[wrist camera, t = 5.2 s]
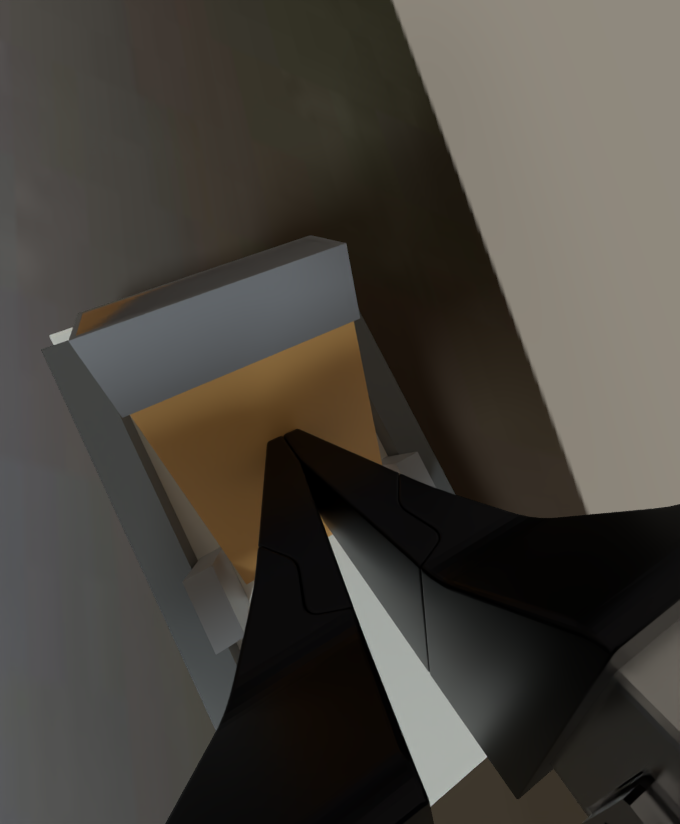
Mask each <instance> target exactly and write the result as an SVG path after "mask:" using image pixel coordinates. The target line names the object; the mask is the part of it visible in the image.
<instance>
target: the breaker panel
mask: <svg viewBox="0 0 680 824" xmlns="http://www.w3.org/2000/svg"><path fill="white" fill-rule="evenodd" d="M359 314H360V319H358V320H355V321H354V325H355V330H356V335H357V340H358V345H359V350H360V355H361V360H362V365H363V370H364V375H365V380H366V385H367V390H368V395H369V400H370V405H371V410H372V416H373V421H374V426H375V431H376V436H377V441H378V446H379V451H380V456H381V461H382V466H385V467H387V468H389V469H391V470H394V471H396V472H398V473H399V475H400V474H403V475H405V476H408V477H410V478H412V479H415V480H417V481H419V482H422V483H424V484H427V485H429V486H432V487H434V488H437V489H440V490H443V491H446V492H449V493H452V494H455V493H454V491H453V489H452V487H451V485H450V484H449V482H448V480H447V478H446V476H445V474H444V472H443V470H442V468H441V466H440V464H439V462H438V461H437V459H436V457H435V455H434V453H433V451H432V449H431V447H430V445H429V443H428V441H427V439H426V438H425V436H424V434H423V432H422V430H421V428H420V426H419V424H418V422H417V420H416V418H415V416H414V415H413V413H412V411H411V409H410V407H409V405H408V403H407V401H406V399H405V397H404V395H403V393H402V392H401V390H400V388H399V386H398V384H397V382H396V380H395V378H394V376H393V374H392V372H391V370H390V369H389V367H388V365H387V363H386V361H385V359H384V357H383V355H382V353H381V351H380V349H379V347H378V346H377V344H376V342H375V340H374V338H373V336H372V334H371V332H370V330H369V328H368V326H367V324H366V323H365V321H364V319H363V317H362V315H361V313H360V311H359ZM72 329H73V328H70V329H67V330H64V331H61V332H58V333H55V334H52V335H49V336H50V338H51V340H52V343H53V346H50V347H47V348H44V349H42V350H41V351H42V353H43V355H44V357H45V359H46V362H47V364H48V366H49V368H50V370H51V372H52V375H53V377H54V379H55V381H56V383H57V385H58V388H59V390H60V392H61V394H62V396H63V399H64V401H65V403H66V405H67V407H68V409H69V412H70V414H71V416H72V418H73V420H74V423H75V425H76V427H77V429H78V431H79V433H80V436H81V438H82V440H83V442H84V444H85V447H86V449H87V451H88V453H89V455H90V457H91V460H92V462H93V464H94V466H95V468H96V471H97V473H98V475H99V477H100V479H101V481H102V484H103V486H104V488H105V490H106V492H107V494H108V497H109V499H110V501H111V503H112V505H113V508H114V510H115V512H116V514H117V516H118V518H119V521H120V523H121V525H122V527H123V529H124V532H125V534H126V536H127V538H128V540H129V542H130V545H131V547H132V549H133V551H134V553H135V556H136V558H137V560H138V562H139V564H140V566H141V569H142V571H143V573H144V575H145V577H146V580H147V582H148V584H149V586H150V588H151V590H152V593H153V595H154V597H155V599H156V601H157V604H158V606H159V608H160V610H161V612H162V614H163V617H164V619H165V621H166V623H167V625H168V627H169V630H170V632H171V634H172V636H173V638H174V641H175V643H176V645H177V647H178V649H179V651H180V654H181V656H182V658H183V660H184V662H185V665H186V667H187V669H188V671H189V673H190V675H191V678H192V680H193V682H194V684H195V686H196V689H197V691H198V693H199V695H200V697H201V699H202V702H203V704H204V706H205V708H206V710H207V713H208V715H209V717H210V719H211V721H212V723H213V726H214V728H215V730H217V728H218V726H219V724H220V721H221V719H222V717H223V714H224V711H225V709H226V706H227V703H228V699H229V696H230V692H231V688H232V684H233V680H234V676H235V671H236V667H237V662H238V658H239V653H240V649H241V644H242V640H243V635H244V631H245V626H246V622H247V617H248V613H249V608H250V603H251V597H252V592H253V587H254V581H252V582H250V583H248V584H247V585H246V583H245V582H244V580H243V579H242V577H241V576H240V574H239V573H238V571H237V570H236V569H235V567H234V566H233V564H232V563H231V561H230V560H229V558H228V557H227V555H226V554H225V553H224V551H223V550H222V548H221V547H220V545H219V544H218V542H217V541H216V539H215V538H214V537H213V535H212V534H211V532H210V531H209V529H208V528H207V526H206V525H205V523H204V522H203V521H202V519H201V518H200V516H199V515H198V513H197V512H196V510H195V509H194V507H193V506H192V505H191V503H190V502H189V500H188V499H187V497H186V496H185V494H184V493H183V491H182V490H181V489H180V487H179V486H178V484H177V483H176V481H175V480H174V478H173V477H172V475H171V474H170V473H169V471H168V470H167V468H166V467H165V465H164V464H163V462H162V461H161V459H160V458H159V457H158V455H157V454H156V452H155V451H154V449H153V448H152V446H151V445H150V443H149V442H148V441H147V439H146V438H145V436H144V435H143V433H142V432H141V430H140V429H139V427H138V426H137V425H136V423H135V422H134V420H133V419H132V417H131V416H130V415H128V416H126V417H123V418H122V416H121V415H120V414H119V412H118V411H117V409H116V408H115V407H114V405H113V404H112V402H111V401H110V399H109V398H108V397H107V395H106V394H105V392H104V391H103V390H102V388H101V387H100V385H99V384H98V382H97V381H96V380H95V378H94V377H93V375H92V374H91V373H90V371H89V370H88V368H87V367H86V365H85V364H84V363H83V361H82V360H81V358H80V357H79V356H78V354H77V353H76V351H75V350H74V348H73V347H72V346H71V344H70V343H69V341H68V340H69V337H70V335H71V332H72ZM328 538H329V541H330V544H331V546H332V549H333V552H334V555H335V557H336V560H337V563H338V566H339V568H340V571H341V574H342V577H343V579H344V582H345V585H346V588H347V590H348V593H349V596H350V598H351V601H352V604H353V607H354V610H355V612H356V615H357V618H358V620H359V623H360V626H361V628H362V631H363V634H364V636H365V639H366V642H367V644H368V647H369V649H370V652H371V654H372V657H373V659H374V662H375V665H376V667H377V670H378V672H379V675H380V677H381V680H382V682H383V685H384V687H385V690H386V692H387V695H388V698H389V700H390V703H391V705H392V708H393V710H394V713H395V715H396V718H397V720H398V723H399V726H400V728H401V731H402V733H403V736H404V738H405V741H406V743H407V746H408V748H409V751H410V754H411V756H412V759H413V761H414V764H415V766H416V769H417V771H418V774H419V776H420V778H421V781H422V783H423V786H424V788H425V791H426V793H427V795H428V798H429V802H430V806H431V805H433V804H434V803H435V802H436V801H437V800H438V799H440V798H441V797H442V796H443V795H444V794H445V793H446V792H448V791H449V790H450V789H451V788H452V787H453V786H454V785H456V784H457V783H458V782H459V781H460V780H461V779H462V778H464V777H465V776H466V775H467V774H468V773H469V772H470V771H472V770H473V769H474V768H475V767H476V766H477V765H478V764H480V763H481V762H482V761H483V760H484V759H485V758H486V757H487V756H486V754H485V753H484V751H483V750H482V748H481V747H480V746H479V744H478V743H477V741H476V740H475V738H474V737H473V735H472V734H471V733H470V731H469V730H468V728H467V727H466V725H465V724H464V723H463V721H462V720H461V718H460V717H459V715H458V714H457V712H456V711H455V710H454V708H453V707H452V705H451V704H450V702H449V701H448V700H447V698H446V697H445V695H444V694H443V692H442V691H441V689H440V688H439V687H438V685H437V684H436V682H435V681H434V679H433V678H432V677H431V675H430V672H428V671H427V669H426V668H425V666H424V665H423V663H422V662H421V661H420V659H419V658H418V656H417V655H416V653H415V652H414V650H413V649H412V648H411V646H410V645H409V643H408V642H407V640H406V639H405V638H404V636H403V635H402V633H401V632H400V630H399V629H398V627H397V626H396V625H395V623H394V622H393V620H392V619H391V617H390V616H389V614H388V613H387V612H386V610H385V609H384V607H383V606H382V604H381V603H380V602H379V600H378V599H377V597H376V596H375V594H374V593H373V591H372V590H371V589H370V587H369V586H368V584H367V583H366V581H365V580H364V579H363V577H362V576H361V574H360V573H359V571H358V570H357V568H356V567H355V566H354V564H353V563H352V561H351V560H350V558H349V557H348V555H347V554H346V553H345V551H344V550H343V548H342V547H341V545H340V544H339V543H338V541H337V540H336V538H335V537H334V535H333V534H332V535H331V536H329V537H328Z"/></svg>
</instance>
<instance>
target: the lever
mask: <svg viewBox="0 0 680 824" xmlns="http://www.w3.org/2000/svg"><path fill="white" fill-rule="evenodd" d="M358 319H360V314H359V309H358V304H357V298H356V293H355V288H354V282H353V277H352V272H351V266H350V261H349V256H348V250H347V245H346V243H343V242H339V241H334V240H330V239H325V238H321V237H316V236H312V235H310V236H307V237H304V238H301V239H298V240H295V241H292V242H289V243H286V244H283V245H280V246H277V247H274V248H271V249H268V250H265V251H262V252H259V253H256V254H253V255H250V256H247V257H244V258H241V259H238V260H235V261H232V262H229V263H226V264H223V265H220V266H217V267H214V268H211V269H208V270H205V271H202V272H199V273H196V274H193V275H191V276H188V277H185V278H182V279H179V280H176V281H173V282H170V283H167V284H164V285H161V286H158V287H155V288H152V289H149V290H146V291H143V292H140V293H137V294H134V295H131V296H128V297H125V298H122V299H119V300H116V301H113V302H110V303H107V304H104V305H101V306H98V307H95V308H92V309H89V310H86V311H83V312H80V313H78V315H77V318H76V320H75V323H74V326H73V329H72V332H71V335H70V337H69V340H68V341H69V343H70V344H71V346H72V347H73V348H74V350H75V351H76V353H77V354H78V356H79V357H80V358H81V360H82V361H83V363H84V364H85V365H86V367H87V368H88V370H89V371H90V373H91V374H92V375H93V377H94V378H95V380H96V381H97V382H98V384H99V385H100V387H101V388H102V390H103V391H104V392H105V394H106V395H107V397H108V398H109V399H110V401H111V402H112V404H113V405H114V407H115V408H116V409H117V411H118V412H119V414H120V415H121V416H122V418H123V417H126V416H128V415H130V416H131V417H132V419H133V420H134V422H135V423H136V425H137V426H138V427H139V429H140V430H141V432H142V433H143V435H144V436H145V438H146V439H147V441H148V442H149V443H150V445H151V446H152V448H153V449H154V451H155V452H156V454H157V455H158V457H159V458H160V459H161V461H162V462H163V464H164V465H165V467H166V468H167V470H168V471H169V473H170V474H171V475H172V477H173V478H174V480H175V481H176V483H177V484H178V486H179V487H180V489H181V490H182V491H183V493H184V494H185V496H186V497H187V499H188V500H189V502H190V503H191V505H192V506H193V507H194V509H195V510H196V512H197V513H198V515H199V516H200V518H201V519H202V521H203V522H204V523H205V525H206V526H207V528H208V529H209V531H210V532H211V534H212V535H213V537H214V538H215V539H216V541H217V542H218V544H219V545H220V547H221V548H222V550H223V551H224V553H225V554H226V555H227V557H228V558H229V560H230V561H231V563H232V564H233V566H234V567H235V569H236V570H237V571H238V573H239V574H240V576H241V577H242V579H243V580H244V582H245V583H246V585H247V584H248V583H250V582H252V581H254V579H255V571H256V563H257V551H258V548H259V547H258V541H259V530H260V518H261V506H262V494H263V482H264V470H265V458H266V447H267V442H268V441H270V440H272V439H275V438H277V437H279V436H282V437H284V434H286V433H288V432H290V431H293V430H295V429H300V430H303V431H305V432H307V433H309V434H312V435H314V436H316V437H319V438H321V439H323V440H325V441H328V442H330V443H332V444H335V445H337V446H339V447H341V448H344V449H346V450H348V451H350V452H353V453H355V454H357V455H360V456H362V457H364V458H366V459H369V460H371V461H373V462H375V463H378V464H380V465H382V461H381V456H380V451H379V446H378V441H377V436H376V431H375V426H374V421H373V416H372V410H371V405H370V400H369V395H368V390H367V385H366V380H365V375H364V370H363V365H362V360H361V355H360V350H359V345H358V340H357V335H356V330H355V325H354V321H355V320H358ZM321 519H322V518H321ZM322 522H323V525H324V527H325V530H326V533H327V536H328V537H329V536H331V535H332V532H331V531H330V530H329V528H328V527H327V525H326V524H325V522H324V521H323V519H322Z"/></svg>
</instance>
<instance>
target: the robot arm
mask: <svg viewBox="0 0 680 824" xmlns="http://www.w3.org/2000/svg"><path fill="white" fill-rule="evenodd" d="M321 518H322V519H323V521H324V522H325V524H326V525H327V527H328V528H329V530H330V531H331V532H332V534H333V535H334V537H335V538H336V540H337V541H338V543H339V544H340V545H341V547H342V548H343V550H344V551H345V553H346V554H347V555H348V557H349V558H350V560H351V561H352V563H353V564H354V566H355V567H356V568H357V570H358V571H359V573H360V574H361V576H362V577H363V579H364V580H365V581H366V583H367V584H368V586H369V587H370V589H371V590H372V591H373V593H374V594H375V596H376V597H377V599H378V600H379V602H380V603H381V604H382V606H383V607H384V609H385V610H386V612H387V613H388V614H389V616H390V617H391V619H392V620H393V622H394V623H395V625H396V626H397V627H398V629H399V630H400V632H401V633H402V635H403V636H404V638H405V639H406V640H407V642H408V643H409V645H410V646H411V648H412V649H413V650H414V652H415V653H416V655H417V656H418V658H419V659H420V661H421V662H422V663H423V665H424V666H425V668H426V669H427V671H428V672H430V675H431V677H432V678H433V679H434V681H435V682H436V684H437V685H438V687H439V688H440V689H441V691H442V692H443V694H444V695H445V697H446V698H447V700H448V701H449V702H450V704H451V705H452V707H453V708H454V710H455V711H456V712H457V714H458V715H459V717H460V718H461V720H462V721H463V723H464V724H465V725H466V727H467V728H468V730H469V731H470V733H471V734H472V735H473V737H474V738H475V740H476V741H477V743H478V744H479V746H480V747H481V748H482V750H483V751H484V753H485V754H486V756H487V757H488V758H489V760H490V761H491V763H492V764H493V766H494V767H495V769H496V770H497V771H498V773H499V774H500V776H501V777H502V779H503V780H504V781H505V783H506V784H507V786H508V787H509V789H510V790H511V791H512V793H513V794H514V796H515V797H516V798H517V799H519V798H521V797H522V796H523V795H524V794H525V793H526V792H527V791H529V790H530V789H531V788H532V787H533V786H534V785H535V784H537V783H538V782H539V781H540V780H541V779H542V778H543V777H545V776H546V775H547V774H548V773H549V772H550V771H551V770H553V769H554V770H555V772H556V773H557V774H558V776H559V777H560V778H561V780H562V781H563V783H564V784H565V785H566V787H567V788H568V790H569V791H570V792H571V794H572V795H573V796H574V798H575V799H576V801H577V802H578V803H579V805H580V806H581V808H582V809H583V810H584V812H585V813H586V814H587V816H588V818H587V819H586V820H585V821H584V822H583V823H582V824H680V504H679V505H674V506H670V507H663V508H655V509H645V510H634V511H623V512H612V513H601V514H590V515H580V516H569V517H558V518H536V517H528V516H523V515H519V514H515V513H512V512H508V511H505V510H502V509H499V508H496V507H492V506H489V505H486V504H483V503H480V502H477V501H474V500H470V499H467V498H464V497H461V496H458V495H455V494H452V493H449V492H446V491H443V490H440V489H437V488H434V487H432V486H429V485H427V484H424V483H422V482H419V481H417V480H415V479H412V478H410V477H408V476H405V475H403V474H400V475H399V473H398V472H396V471H394V470H391V469H389V468H387V467H385V466H382V465H380V464H378V463H375V462H373V461H371V460H369V459H366V458H364V457H362V456H360V455H357V454H355V453H353V452H350V451H348V450H346V449H344V448H341V447H339V446H337V445H335V444H332V443H330V442H328V441H325V440H323V439H321V438H319V437H316V436H314V435H312V434H309V433H307V432H305V431H303V430H300V429H295V430H293V431H290V432H288V433H286V434H284V437H282V436H279V437H277V438H275V439H272V440H270V441H268V442H267V447H266V458H265V470H264V482H263V494H262V506H261V518H260V530H259V541H258V547H259V548H258V551H257V563H256V571H255V579H254V587H253V592H252V597H251V603H250V608H249V613H248V617H247V622H246V626H245V631H244V635H243V640H242V644H241V649H240V653H239V658H238V662H237V667H236V671H235V676H234V680H233V684H232V688H231V692H230V696H229V699H228V703H227V706H226V709H225V711H224V714H223V717H222V719H221V721H220V724H219V726H218V728H217V730H216V732H215V734H214V736H213V738H212V740H211V741H210V743H209V745H208V747H207V749H206V751H205V752H204V754H203V756H202V758H201V760H200V761H199V763H198V765H197V767H196V769H195V771H194V772H193V774H192V776H191V778H190V780H189V781H188V783H187V785H186V787H185V789H184V791H183V792H182V794H181V796H180V798H179V800H178V801H177V803H176V805H175V807H174V809H173V811H172V812H171V814H170V816H169V818H168V820H167V821H166V823H165V824H434V822H433V817H432V812H431V807H430V802H429V798H428V795H427V793H426V791H425V788H424V786H423V783H422V781H421V778H420V776H419V774H418V771H417V769H416V766H415V764H414V761H413V759H412V756H411V754H410V751H409V748H408V746H407V743H406V741H405V738H404V736H403V733H402V731H401V728H400V726H399V723H398V720H397V718H396V715H395V713H394V710H393V708H392V705H391V703H390V700H389V698H388V695H387V692H386V690H385V687H384V685H383V682H382V680H381V677H380V675H379V672H378V670H377V667H376V665H375V662H374V659H373V657H372V654H371V652H370V649H369V647H368V644H367V642H366V639H365V636H364V634H363V631H362V628H361V626H360V623H359V620H358V618H357V615H356V612H355V610H354V607H353V604H352V601H351V598H350V596H349V593H348V590H347V588H346V585H345V582H344V579H343V577H342V574H341V571H340V568H339V566H338V563H337V560H336V557H335V555H334V552H333V549H332V546H331V544H330V541H329V538H328V536H327V533H326V530H325V527H324V525H323V522H322V519H321Z"/></svg>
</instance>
